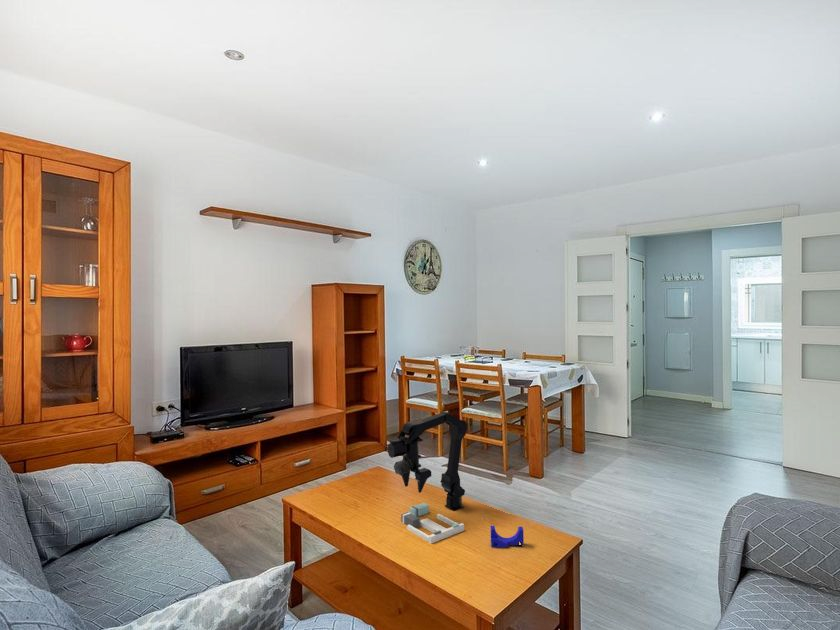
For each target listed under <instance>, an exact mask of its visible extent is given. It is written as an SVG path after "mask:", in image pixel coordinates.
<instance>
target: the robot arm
mask: <svg viewBox="0 0 840 630" xmlns="http://www.w3.org/2000/svg"><path fill="white" fill-rule="evenodd" d="M443 424H446V425H448V433H449V435H450V444H449V452H448V459H447V469H446V470H445V472H444V473H443V472H442V473H441V479H440V483H441V485H440V486H441V487H442V489H443V490H444V493H446V499H445V500H446V502H445V504H444V508H447V509H449V510H451V511H453V512H455V511H457V510H460V509H463V508H465V506H464V505H463V501H462V500H463V496H465V492H466V490H465V489H464V488H463V487H462V486H461V478H460V475H459V468H460V467H459V465H460V458H461V450H462V444H463V442H462V441H463V439H464V437H465V436H466V435H467V432H468V423H467V421H466V420H464V419H461V418H458V417H456V416H454V415H452V413H450V412H447V411H441V412H440V413H437V414H435V415H433V416H429V417H427V418H424V419H422V420H414V421H413V420H412V421H407V422H405V423H404V424H403V425H402V429H401V430H400V432H399V434H398V436H397V439H395V440H394V439H392V440H389V443H388V445H387V447H386V448H387V453H388V456H389V458H391V459H393V458H399V457H401V456H402V459H401V460H398V461H396V462H395V463H394V464H393V469H394V472H395V474H397V475H399V476H401V478H402V481H403V483H404V484H403V485H404V487H408V486H409V482H410V475H411V472H412V473H414V479H415V480H416V483H417V490H418V491H417V492H418V493H419V494H420V493H422V491H423V490H424V487H425V484H426V482H427V480H428V479H429V478H430V477H432V470H430V469H429V468H426V467H423V468H421V467H422V464H421V463H420V458H422V457H421V456H422V455H421V454H420V453H419V443H421V442H422V441H423V440H424V439H422V437H421V436H422V435H423V434H424V433H425V432H426V431H428V430H430V429H432V428H436V427H439V426H440V425H443Z"/></svg>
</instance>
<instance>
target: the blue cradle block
mask: <svg viewBox="0 0 840 630" xmlns="http://www.w3.org/2000/svg"><path fill="white" fill-rule="evenodd" d="M519 542H520V543H521V545H524V546H525V544H524V527H523V526H518V528H517V531H516V532H515V534H514V535H512V536H510V537H503V536H501V535H500V534H499V533H498V532H497V530H496V527H495V525H490V546H491V548H503V547H509V546H508V545H512V546H511V547H514V546H513V545H519Z"/></svg>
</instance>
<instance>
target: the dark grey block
mask: <svg viewBox="0 0 840 630" xmlns="http://www.w3.org/2000/svg"><path fill="white" fill-rule="evenodd" d="M400 515H401V517H400V521H401V523H402V524H404V525H405V526H407V525H411V526H413V527H415V528H416V529H418V528H419V527H421V526H420V520H421V519H420V518H421V517H419V516H418V517H416V516H415V515H413V514H411V513H410V512H409V511H407V512H403V513H401V514H400Z"/></svg>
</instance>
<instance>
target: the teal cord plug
mask: <svg viewBox="0 0 840 630" xmlns="http://www.w3.org/2000/svg"><path fill="white" fill-rule="evenodd" d="M408 512H410V513H411V514H413V515H415V516H416V517H418V518H419V517H421V516H423V515H427V514H429V513H430V505H429V504H427V503H425V502H422V503H420V504H416V505H413V506H410V507H409V511H408Z"/></svg>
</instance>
